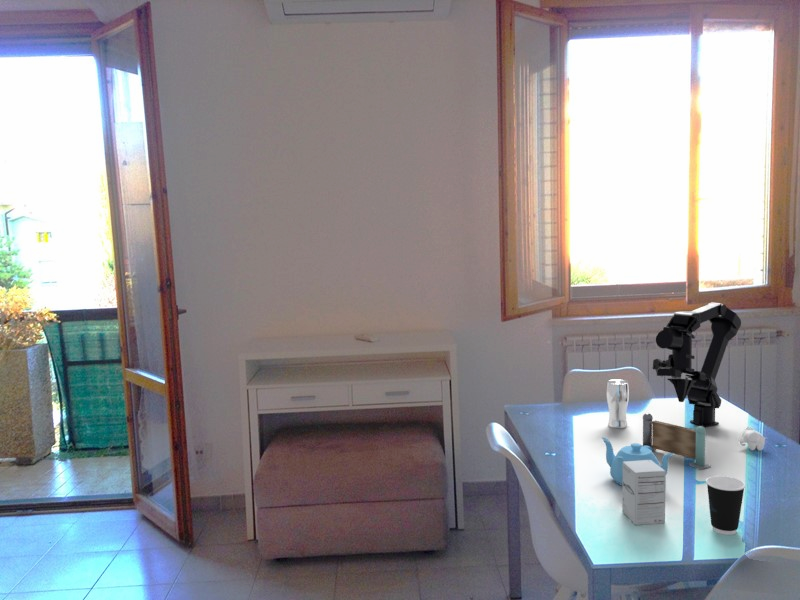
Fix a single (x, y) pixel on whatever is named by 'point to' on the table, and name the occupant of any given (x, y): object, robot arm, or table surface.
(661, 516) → the supplement box
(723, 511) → the dixie cup
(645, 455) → the teapot
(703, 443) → the post
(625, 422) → the beer glass
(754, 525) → the table surface
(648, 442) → the hinge post
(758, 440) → the elephant figurine
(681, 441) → the gate
